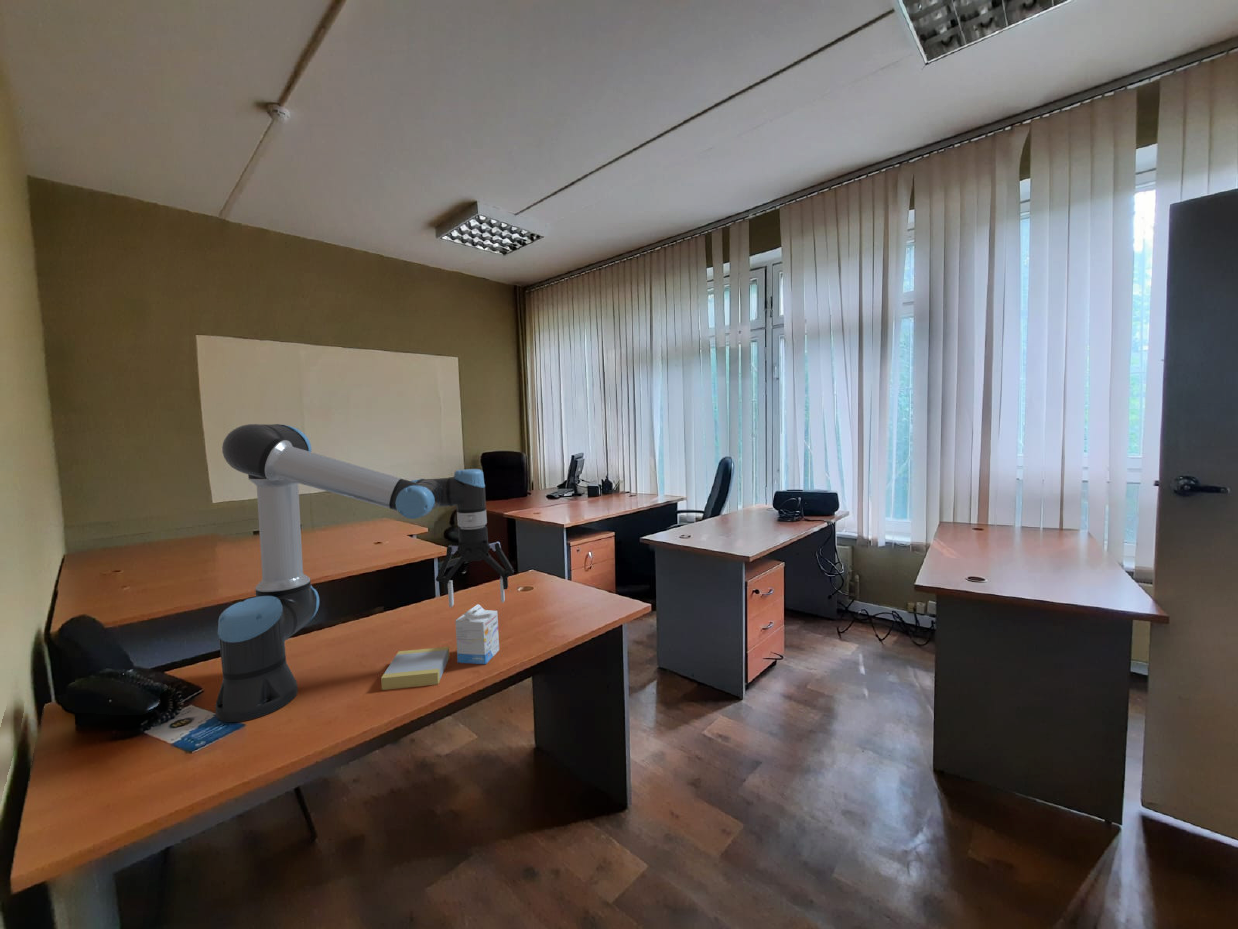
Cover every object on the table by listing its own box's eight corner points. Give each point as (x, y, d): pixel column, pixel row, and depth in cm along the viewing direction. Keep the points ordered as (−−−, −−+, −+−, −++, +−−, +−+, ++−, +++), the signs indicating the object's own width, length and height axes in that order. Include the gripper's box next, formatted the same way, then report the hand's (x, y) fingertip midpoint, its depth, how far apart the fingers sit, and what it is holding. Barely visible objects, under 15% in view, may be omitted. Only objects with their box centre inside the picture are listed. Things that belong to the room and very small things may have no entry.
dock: (381, 690, 114) (381, 678, 114) (399, 662, 128) (398, 651, 128) (438, 684, 116) (437, 672, 116) (449, 657, 130) (448, 646, 130)
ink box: (485, 665, 125) (483, 616, 124) (456, 662, 127) (454, 614, 126) (500, 650, 134) (497, 604, 133) (472, 648, 135) (470, 602, 134)
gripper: (420, 532, 122) (426, 612, 124) (519, 526, 126) (523, 603, 127) (427, 526, 129) (432, 602, 131) (520, 520, 133) (524, 594, 135)
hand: (477, 603), depth 129 cm, fingers open, 13 cm apart
